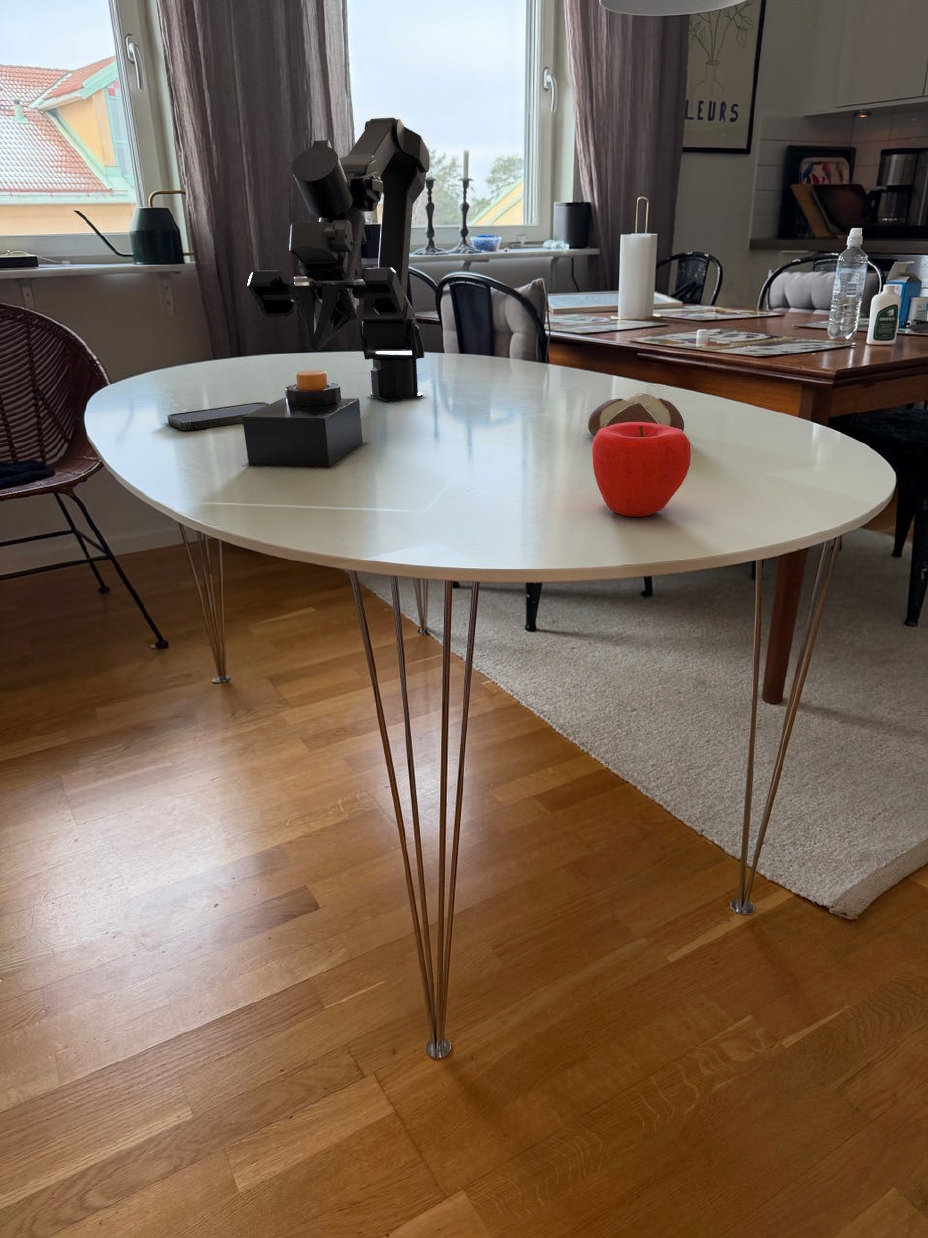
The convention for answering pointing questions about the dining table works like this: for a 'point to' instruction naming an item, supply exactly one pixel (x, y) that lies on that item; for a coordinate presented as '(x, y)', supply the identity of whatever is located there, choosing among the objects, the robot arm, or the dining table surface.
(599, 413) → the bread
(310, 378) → the button
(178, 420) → the phone
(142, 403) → the dining table surface
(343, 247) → the robot arm
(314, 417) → the black switch box
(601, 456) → the apple
